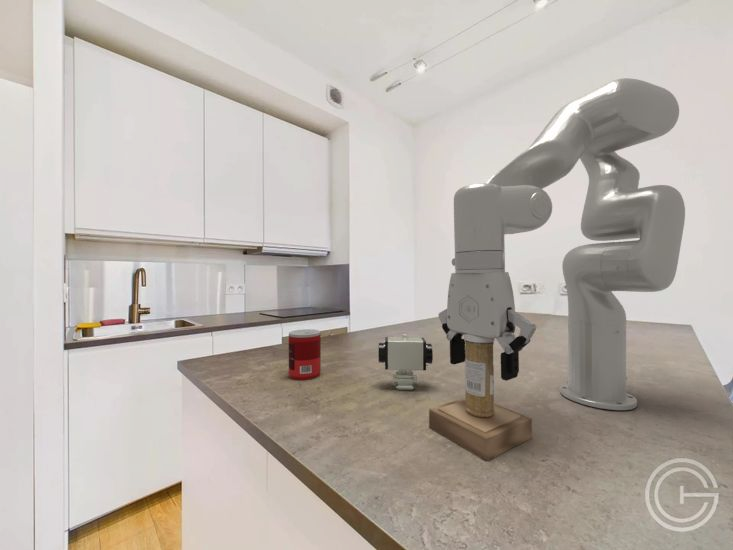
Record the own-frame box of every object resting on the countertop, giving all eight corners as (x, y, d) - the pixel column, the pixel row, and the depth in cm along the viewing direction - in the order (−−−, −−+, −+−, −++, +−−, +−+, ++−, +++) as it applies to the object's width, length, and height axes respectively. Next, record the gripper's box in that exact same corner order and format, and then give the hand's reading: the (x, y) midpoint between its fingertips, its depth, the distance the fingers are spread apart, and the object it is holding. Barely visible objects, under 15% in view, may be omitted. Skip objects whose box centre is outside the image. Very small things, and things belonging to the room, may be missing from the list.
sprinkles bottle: (501, 415, 48) (500, 329, 48) (479, 420, 46) (479, 331, 46) (479, 404, 52) (479, 325, 53) (458, 408, 51) (458, 327, 51)
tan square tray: (472, 411, 57) (472, 394, 57) (531, 438, 48) (531, 417, 48) (429, 427, 51) (429, 407, 51) (486, 461, 42) (486, 437, 42)
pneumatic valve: (432, 392, 66) (432, 336, 66) (378, 391, 67) (378, 336, 67) (429, 383, 72) (429, 332, 72) (379, 382, 73) (379, 331, 73)
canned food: (326, 373, 79) (326, 330, 79) (304, 382, 72) (304, 336, 72) (304, 369, 83) (304, 328, 83) (282, 377, 76) (282, 332, 76)
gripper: (424, 265, 55) (426, 361, 55) (516, 261, 40) (519, 392, 40) (453, 265, 59) (455, 354, 59) (547, 261, 44) (549, 380, 44)
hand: (481, 369), depth 50 cm, fingers open, 9 cm apart
